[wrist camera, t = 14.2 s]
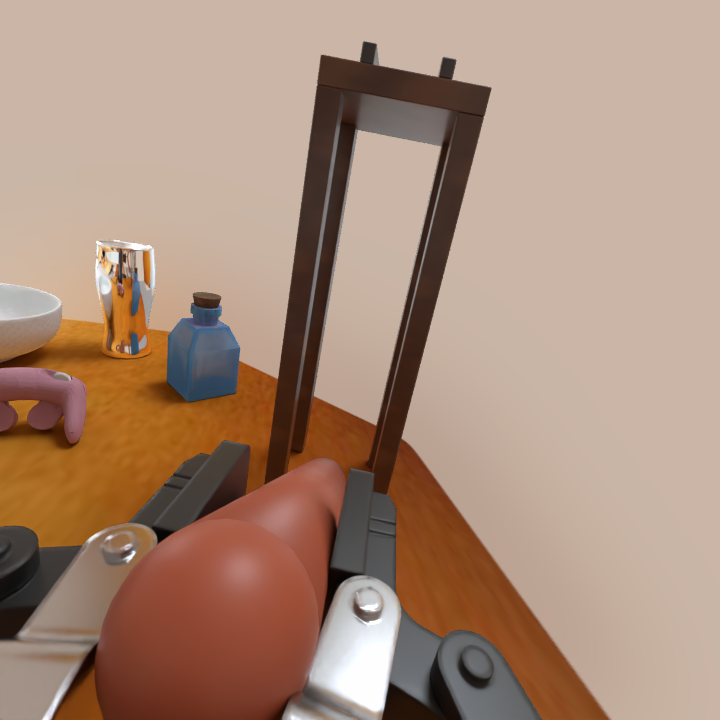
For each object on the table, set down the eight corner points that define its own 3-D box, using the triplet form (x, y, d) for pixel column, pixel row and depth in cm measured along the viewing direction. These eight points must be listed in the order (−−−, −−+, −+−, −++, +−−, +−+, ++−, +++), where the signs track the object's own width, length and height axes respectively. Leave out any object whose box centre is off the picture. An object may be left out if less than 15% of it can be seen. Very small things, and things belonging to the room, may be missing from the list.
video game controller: (89, 439, 39) (91, 368, 39) (81, 444, 35) (84, 365, 35) (-48, 447, 34) (-43, 367, 35) (-75, 454, 30) (-68, 364, 31)
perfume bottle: (213, 374, 54) (219, 289, 51) (235, 392, 51) (244, 302, 47) (166, 381, 50) (169, 288, 46) (187, 402, 46) (192, 302, 42)
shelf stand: (261, 503, 33) (323, 33, 22) (291, 442, 42) (345, 91, 32) (377, 529, 33) (497, 66, 22) (382, 462, 42) (467, 115, 31)
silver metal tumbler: (101, 341, 58) (98, 237, 53) (154, 343, 61) (156, 244, 56) (94, 359, 52) (90, 243, 47) (153, 360, 55) (155, 251, 50)
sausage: (266, 893, 4) (334, 578, 5) (-15, 817, 4) (87, 518, 5) (340, 510, 25) (351, 462, 25) (294, 499, 25) (305, 452, 25)
